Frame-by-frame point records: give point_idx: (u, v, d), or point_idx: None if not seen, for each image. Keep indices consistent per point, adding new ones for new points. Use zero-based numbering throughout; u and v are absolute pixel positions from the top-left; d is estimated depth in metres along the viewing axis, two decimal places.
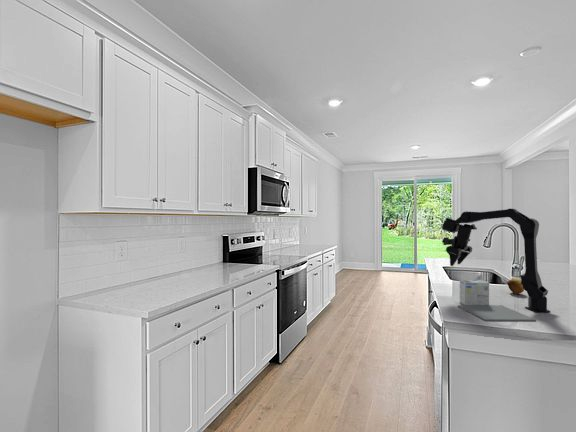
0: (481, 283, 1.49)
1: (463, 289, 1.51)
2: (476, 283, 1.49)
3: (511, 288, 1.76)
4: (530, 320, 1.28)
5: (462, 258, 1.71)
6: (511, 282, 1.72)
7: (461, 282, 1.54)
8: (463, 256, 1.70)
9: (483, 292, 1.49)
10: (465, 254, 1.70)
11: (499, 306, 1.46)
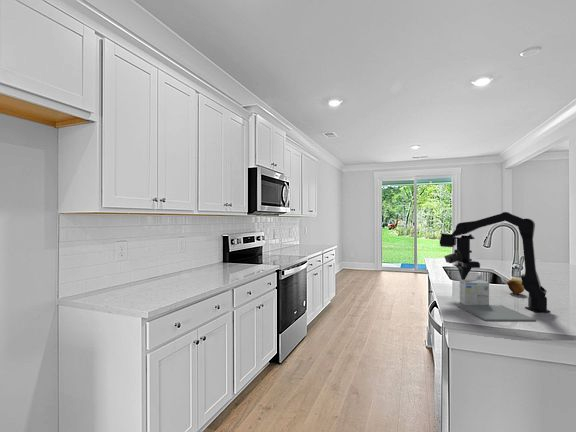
0: (481, 283, 1.49)
1: (463, 289, 1.51)
2: (476, 283, 1.49)
3: (511, 288, 1.76)
4: (530, 320, 1.28)
5: None
6: (511, 282, 1.72)
7: (461, 282, 1.54)
8: None
9: (483, 292, 1.49)
10: None
11: (499, 306, 1.46)
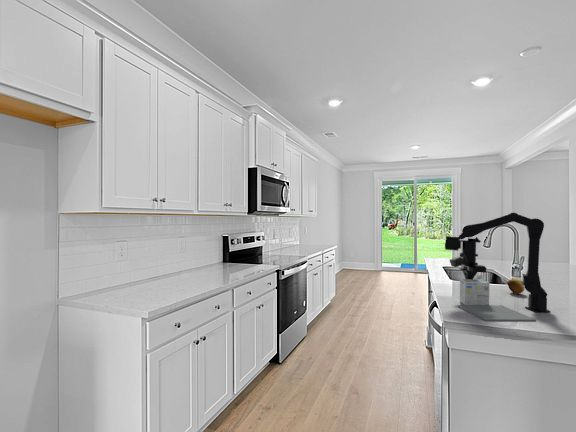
0: (481, 283, 1.49)
1: (463, 289, 1.51)
2: (476, 283, 1.49)
3: (511, 288, 1.76)
4: (530, 320, 1.28)
5: None
6: (511, 282, 1.72)
7: (461, 282, 1.53)
8: None
9: (483, 292, 1.49)
10: None
11: (499, 306, 1.46)
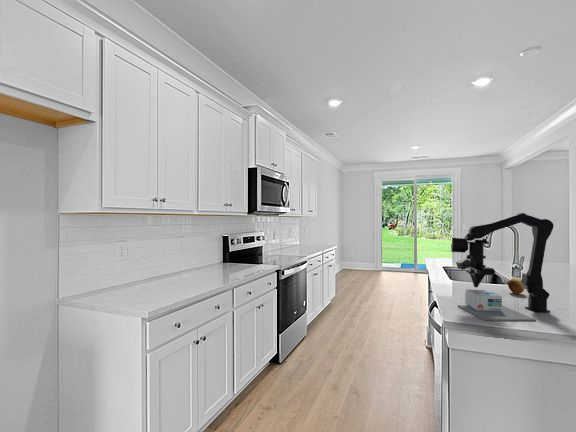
0: (493, 310, 1.39)
1: (471, 304, 1.43)
2: (487, 310, 1.39)
3: (511, 288, 1.76)
4: (530, 320, 1.28)
5: None
6: (511, 282, 1.72)
7: (475, 300, 1.40)
8: None
9: None
10: None
11: None
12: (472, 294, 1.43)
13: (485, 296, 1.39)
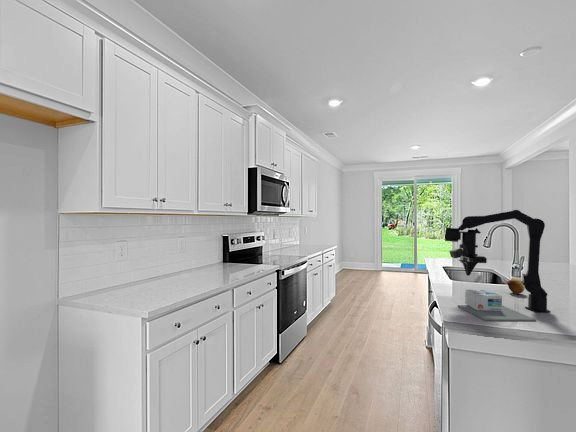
0: (493, 310, 1.39)
1: (471, 304, 1.43)
2: (487, 310, 1.39)
3: (511, 288, 1.76)
4: (530, 320, 1.28)
5: None
6: (511, 282, 1.72)
7: (475, 300, 1.40)
8: None
9: None
10: None
11: None
12: (472, 294, 1.43)
13: (485, 296, 1.39)
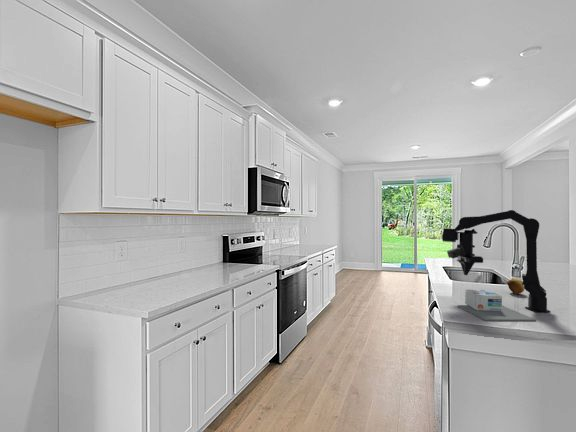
0: (493, 310, 1.39)
1: (471, 304, 1.43)
2: (487, 310, 1.39)
3: (511, 288, 1.76)
4: (530, 320, 1.28)
5: None
6: (511, 282, 1.72)
7: (475, 300, 1.40)
8: None
9: None
10: None
11: None
12: (472, 294, 1.43)
13: (485, 296, 1.39)
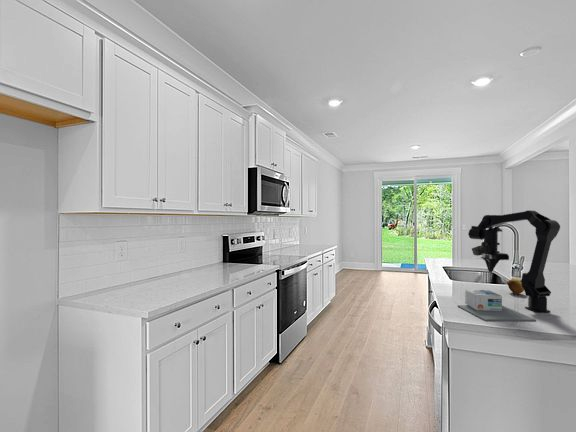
0: (493, 310, 1.39)
1: (471, 304, 1.43)
2: (487, 310, 1.39)
3: (511, 288, 1.76)
4: (530, 320, 1.28)
5: None
6: (511, 282, 1.72)
7: (475, 300, 1.40)
8: None
9: None
10: None
11: None
12: (472, 294, 1.43)
13: (485, 296, 1.39)
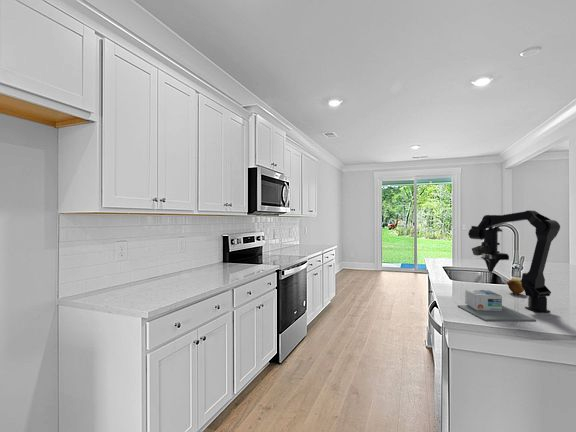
0: (493, 310, 1.39)
1: (471, 304, 1.43)
2: (487, 310, 1.39)
3: (511, 288, 1.76)
4: (530, 320, 1.28)
5: None
6: (511, 282, 1.72)
7: (475, 300, 1.40)
8: None
9: None
10: None
11: None
12: (472, 294, 1.43)
13: (485, 296, 1.39)
